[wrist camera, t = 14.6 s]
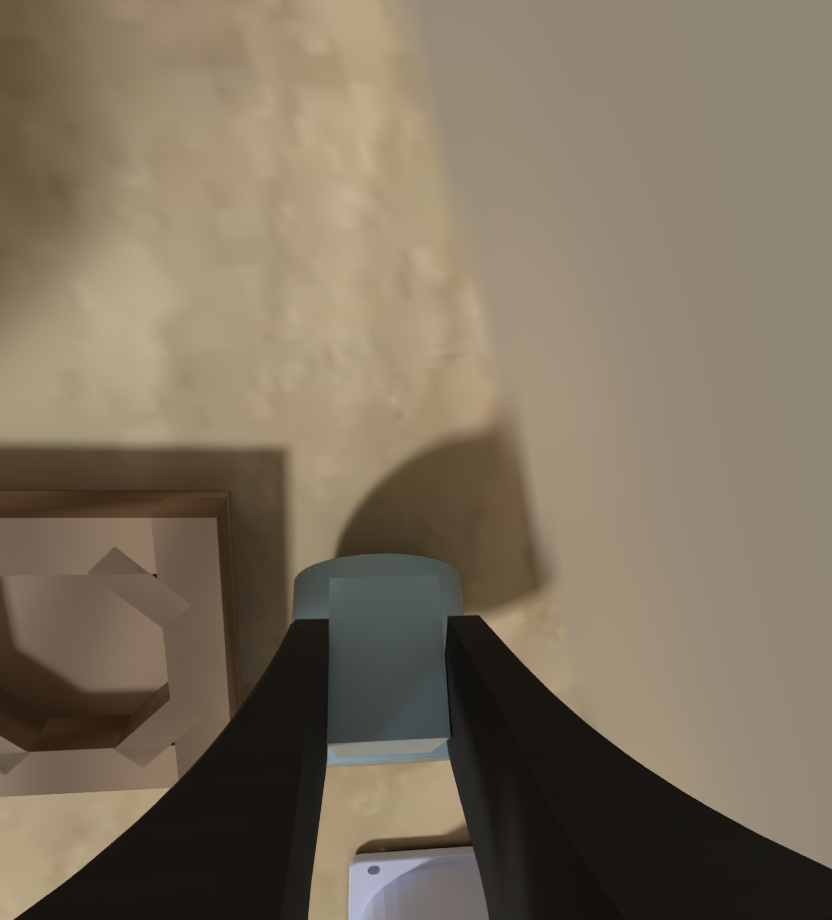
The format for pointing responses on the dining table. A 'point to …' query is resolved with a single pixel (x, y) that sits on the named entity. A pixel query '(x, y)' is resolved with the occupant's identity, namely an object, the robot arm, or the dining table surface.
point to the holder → (113, 637)
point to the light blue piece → (384, 654)
